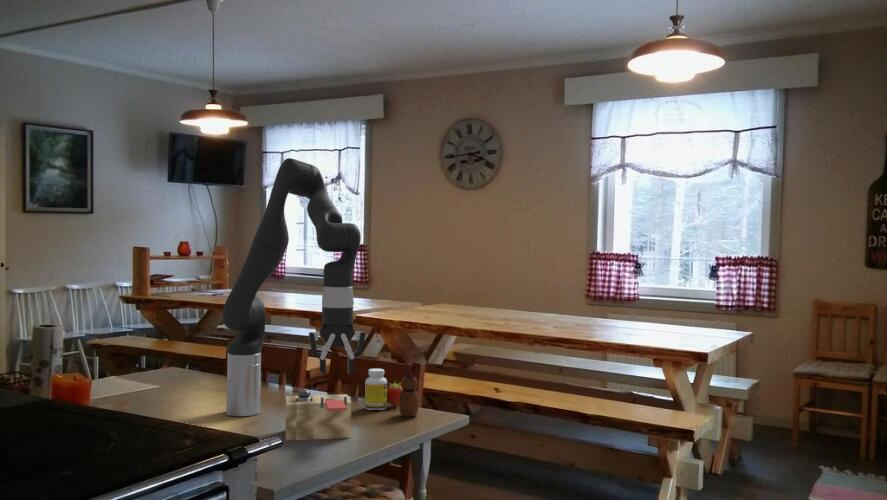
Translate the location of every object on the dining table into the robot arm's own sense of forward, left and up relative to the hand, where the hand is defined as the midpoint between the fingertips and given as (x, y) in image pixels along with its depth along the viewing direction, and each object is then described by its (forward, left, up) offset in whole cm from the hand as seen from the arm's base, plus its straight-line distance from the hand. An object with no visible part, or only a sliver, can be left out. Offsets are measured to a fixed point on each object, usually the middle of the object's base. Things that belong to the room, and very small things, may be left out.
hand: (336, 374), depth 185 cm
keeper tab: (0, +2, -8) cm, 9 cm away
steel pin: (-7, +12, -18) cm, 22 cm away
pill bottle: (+15, +38, -18) cm, 45 cm away
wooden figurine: (+23, +28, -18) cm, 41 cm away
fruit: (+21, +40, -18) cm, 49 cm away
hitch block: (-4, +12, -18) cm, 21 cm away
